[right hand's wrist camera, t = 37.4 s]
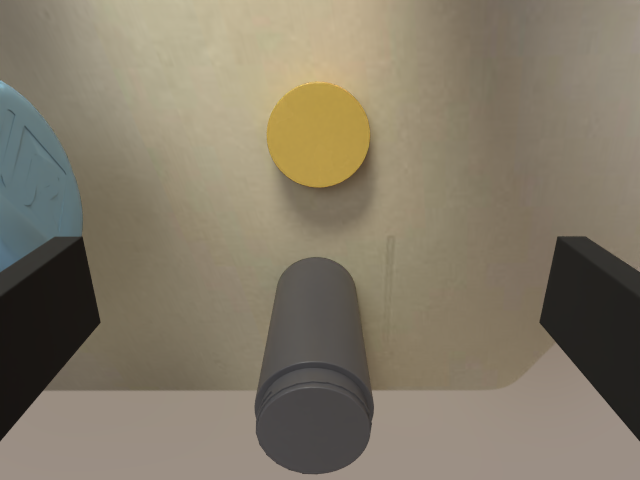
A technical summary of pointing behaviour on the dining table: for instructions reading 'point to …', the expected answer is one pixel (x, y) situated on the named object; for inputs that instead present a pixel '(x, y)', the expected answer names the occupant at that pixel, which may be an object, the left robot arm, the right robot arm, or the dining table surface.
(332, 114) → the lid
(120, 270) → the dining table surface
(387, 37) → the dining table surface
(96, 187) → the dining table surface
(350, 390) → the jar
